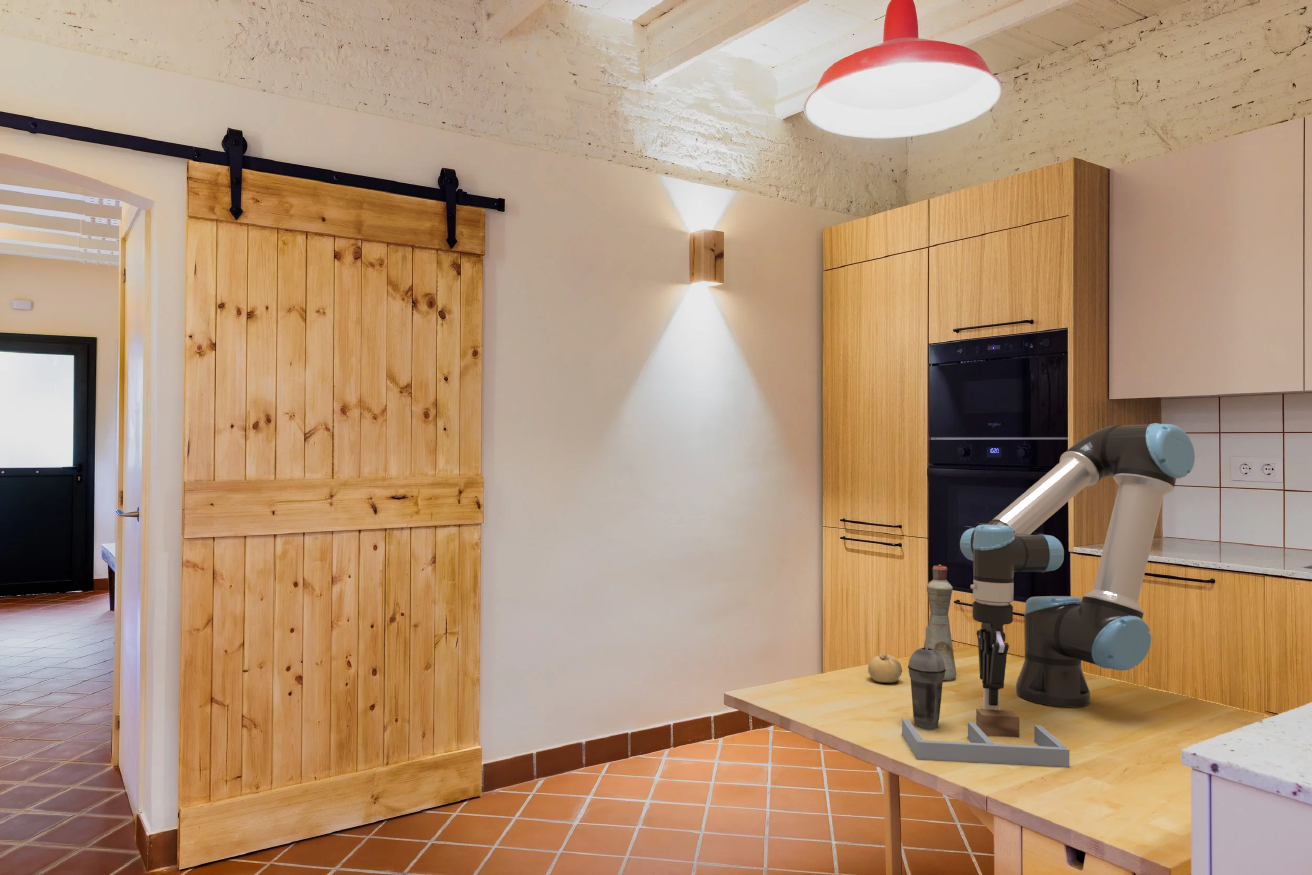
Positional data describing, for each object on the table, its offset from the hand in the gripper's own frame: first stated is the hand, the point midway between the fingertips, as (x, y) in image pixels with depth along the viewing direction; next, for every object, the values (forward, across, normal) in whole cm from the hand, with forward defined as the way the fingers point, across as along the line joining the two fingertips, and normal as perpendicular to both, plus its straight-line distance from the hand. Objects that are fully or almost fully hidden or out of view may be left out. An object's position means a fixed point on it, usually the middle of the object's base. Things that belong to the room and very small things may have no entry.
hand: (990, 719), depth 161 cm
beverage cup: (+2, +1, -13) cm, 13 cm away
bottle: (+2, -38, -1) cm, 38 cm away
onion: (+2, -32, -15) cm, 36 cm away
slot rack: (+2, +13, -6) cm, 14 cm away
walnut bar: (+2, +3, 0) cm, 3 cm away
